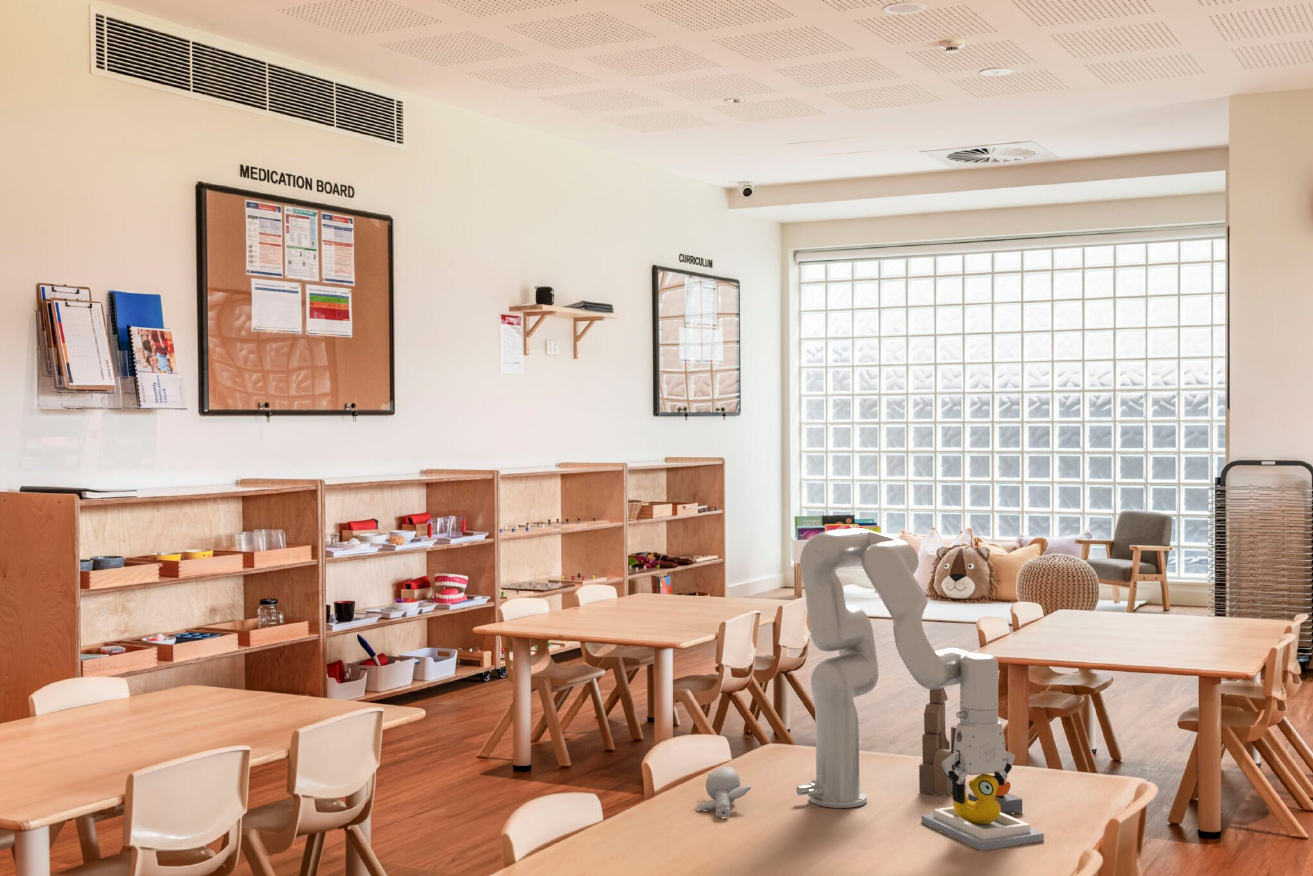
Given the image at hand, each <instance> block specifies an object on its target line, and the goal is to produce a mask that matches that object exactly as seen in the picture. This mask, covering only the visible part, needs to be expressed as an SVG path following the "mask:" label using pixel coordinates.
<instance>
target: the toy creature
mask: <svg viewBox="0 0 1313 876" xmlns="http://www.w3.org/2000/svg"><path fill="white" fill-rule="evenodd" d="M707 775H708V776H707V778H706V780H705V790H706V793H707V795H708V797H710V799H712V800H707V801H705V802H701V803H699V804H698V805H697V806H696V810H697V809H699V810H708V811H710V810H713V809H715V815H716V817H717V818H719V817H728V818H729V817H730V816H731V813H732V812H731V804H732V803H734V802H735V801H736V800H737V799H739V798H741V797H744V796H745V795H747V793H748V792H749V791H750V790H751V789H752V786H751V785H747V784H745V785H741V780H740V777H739V773H738V772H737V771H736V770H735V768H733V767H732V766H725V765H724V766H720V767H718V768H716V769H714V770H713V771H712V772H710V773H708V774H707ZM730 803H731V804H730Z"/></svg>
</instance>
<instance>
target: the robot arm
mask: <svg viewBox="0 0 1313 876" xmlns="http://www.w3.org/2000/svg"><path fill="white" fill-rule="evenodd" d="M919 563H920V562H919V555H918V553H917V551H916V550H915V548H914V546H912V545H911V544H910V543H909V542H907V541H905V540H903V539H901V538H897V537H892V536H890V535H886V534H883V533H881V532H880V533H879V532H875V531H873V530H869V529H865V528H859V527H855V528H840V529H832V530H826V531H821V532H819V533H817V534H816V535H814V536H812V537H811V538H810V539H809V540H807V542H806V543H805V545H804V546H803V548H802V550H801V553H800V560H799V567H800V574H801V578H802V582H803V588H804V593H805V600H806V608H807V616H808V623H809V629H810V636H811V641H812V642H813V645H814V646H815V648H817V649H818V650H820V651H822V652H835V651H838V655H839V656H834V657H829V658H827V659H824V660H823V661H820V662H819V663H818V664H817V665H816V666H815V667H814V669H813V671H812V673H811V677H810V686H811V693H812V697H813V702H814V703H813V704H814V712H815V719H814V720H815V762H816V763H815V765H816V766H815V771H816V774H815V775H816V776H815V777H816V778H813V779H811V783H809V784H808V785H799V786H797V787H796V794H797V795H798V796H805V795H807V796H808V797H809V801H810V802H811V803H813V804H814V805H818V806H820V807H825V808H826V807H827V808H835V809H843V808H844V809H849V808H855V807H860V806H863V805H865V804H866V803H867V801H868V798H867V794H865V793H864V791H863V792H862V791H860V790H861V789H860V785H861V784H860V722H859V715H858V711H857V708H856V705H855V702H854V698H856V697H860V696H863V695H866V694H868V693H870V692H871V691H873V690H874V688H875V687H876V685H877V683H878V679H879V665H878V663H879V662H878V657H877V651H876V645H875V637H874V631H873V626H872V622H871V620H870V618H869V617H868V615H867V613H866V612H865V611H864V610H863V609H862V608H860V607H859V606H856V605H852V604H848V605H847V604H846V599H845V592H844V587H843V584H842V581H841V579H840V578H839V576H838V574H837V572H836V571H837V570H838V569H840V568H849V567H855V566H856V567H857V566H860V567H862V568H863V570H864V573H865V574H866V576H867V578H868V579H869V580H868V581H870V583H871V585H872V586H873V588H874V589H875V591H876V593H877V595H878V596H879V597H880V600H881V602H882V603H883V604H884V607H885V608H886V609H887V611H888V613H889V614H890V616H891V619H892V629H893V636H894V643H895V646H896V650H897V652H898V654H899V657H900V659H901V660H902V662H903V663H904V665H905V667H906V669H907V670H908V672H909V673H910V674H911V676H912V678H913V679H914V681H916V683H917V684H919V686H921V687H923V688H924V689H926V690H927V689H928V690H929V691H930V690H935V689H940V688H943V687H944V688H947V687H951V686H954V685H955V686H956V685H959V687H960V688H959V689H960V690H959V691H960V692H959V711H957V712H956V713H955V716H956V718H957V719H959V721H957V724H956V726H957V728H956V733H955V741H954V753H953V754H952V755H950V756H949V757H948V758H946V759H945V760H944V761H942V763H941V764H942V767H943V769H944V771H945V774H946V775H947V776H948V777H949V779H950V781H951V795H952V801H953V800H954V801H956V802H958V803H960V804H964V803H965V792H966V785H965V784H964V782H963V781H964V779H965V778H966V777H967V776H968V775H969V776H975V775H976V776H979V775H981V774H995V775H994V776H993V777H994V778H996V780H997V781H998V784H999V785H1004V784H1005V779H1006V778H1007V779H1008V774H1009V773H1010V771H1011V770H1012V768H1013V767H1012V765H1013V764H1014V762H1015V760H1016V755H1015V754H1013V753H1012V752H1009V751H1008V750H1006V740H1005V739H1006V738H1005V734H1004V729H1003V724H1002V722H1001V721H1000V720H999V661H998V659H997V658H996V657H995V656H994V655H992V654H987V653H978V652H977V653H976V652H975V653H974V652H969V651H966V650H963V649H961V648H956V647H946V648H941V649H937V650H934V648H933V646H932V645H931V644H930V641H929V639H928V638H927V636H926V633H925V631H924V628H923V621H922V620H923V615H924V612H925V609H926V607H927V605H928V597H927V595H926V594H925V592H924V590H923V589H922V587H921V586H920V584H919V582H918V581H917V579H916V577H915V575H914V574H915V573H916V571H917V570H918V568H919ZM953 764H954V768H955V769H954V771H953V770H952V765H953ZM960 772H961V773H960ZM959 774H960V775H959ZM958 775H959V776H958ZM962 782H963V783H962ZM996 797H998V798H1000V799H1003V798H1004V795H1003V796H997V795H996Z"/></svg>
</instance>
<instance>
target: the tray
mask: <svg viewBox="0 0 1313 876" xmlns="http://www.w3.org/2000/svg"><path fill="white" fill-rule="evenodd" d="M920 817H921V819H920V821H921V822H922V823H921V824H923V823H924V825H925V824H926V826H927V825H928V827H930V826H931V827H930V828H931V829H934V828H935V829H934V830H936V829H937V830H936V831H938V832H940V831H941V832H940V833H942V834H944V833H945V835H946V834H947V836H949V837H951V838H953V837H954V838H953V839H955V838H956V840H957V839H958V840H957V841H959V840H960V841H959V842H961V843H963V842H964V844H966V845H968V846H971V848H974V847H975V849H976V850H978V851H980V852H983V851H988V850H989V851H990V849H991V850H996V849H1002V848H1001V847H1003V848H1009V847H1014V846H1013V845H1016V846H1021V845H1020V844H1022V845H1027V843H1029V844H1032V843H1031V842H1035V843H1040V842H1039V841H1041V842H1044V841H1045V840H1044V838H1045V837H1044V835H1045V834H1044V832H1041V831H1038V830H1036V829H1034V828H1032V827H1031V824H1030V823H1028V822H1025V821H1022V820H1020V819H1019V818H1015V817H1013V816H1012V815H1006V814H1004V813H1001V812H1000V814H999V816H998V817H997V818H996V819H995V820H994V821H993V822H991V823H989V824H976V823H971V822H968V821H966V820H964V819H962V818H961V817H959V816H958V815H957V813H956V812H955V809H954V806H949V807H943V808H935V809H933V813H928V814H922V815H921V816H920Z"/></svg>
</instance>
